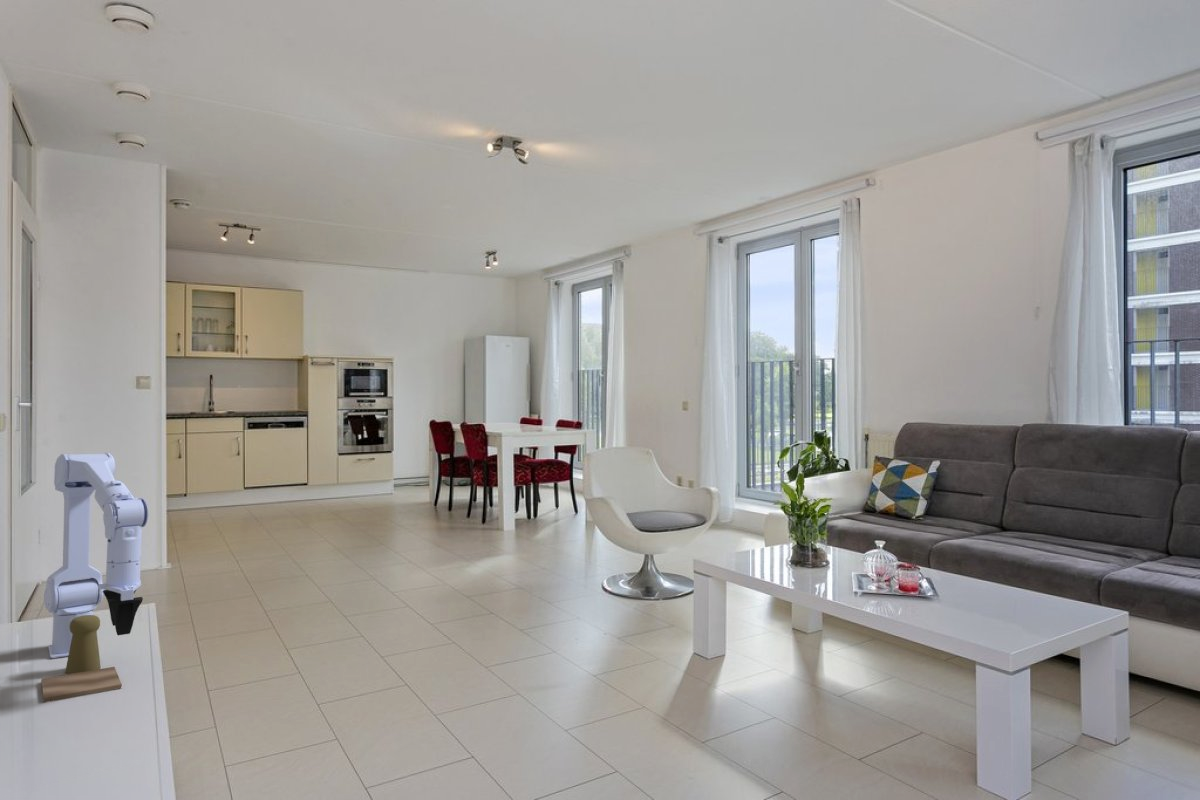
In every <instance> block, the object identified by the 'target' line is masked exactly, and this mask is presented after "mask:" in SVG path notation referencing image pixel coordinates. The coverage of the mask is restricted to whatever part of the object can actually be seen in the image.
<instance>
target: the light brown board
mask: <svg viewBox="0 0 1200 800" xmlns="http://www.w3.org/2000/svg"><path fill="white" fill-rule="evenodd" d="M41 684H42V685H41ZM40 685H41V692H42V701H43V700H44V701H43V703H46V702H45V701H50V702H53V700H54V702H55V701H59V700H60V699H61V700H65V699H70V698H76V697H81V696H89V695H93V694H99V693H104V692H109V690H110V691H114V690H113V689H116V690H118V689H117V688H121V687H122V681H121V678H120V676H119V674H118V672H117V670H116V667H115V666H111V667H105V668H104V667H103V668H100V669H97V670H91V671H85V672H79V673H73V674H62V675H61V674H60V675H57V676H55V675H54V676H50V677H45V678H44V677H43V678H41V680H40ZM122 688H123V687H122ZM122 688H121V689H122Z"/></svg>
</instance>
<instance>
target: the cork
mask: <svg viewBox="0 0 1200 800" xmlns="http://www.w3.org/2000/svg"><path fill="white" fill-rule="evenodd" d="M100 626H101V619H100V617H99V616H98V615H94V614H93V615H83V616H79V617H76V618H74V619H73V620H72V621H71V623H70V632H71V633H72V634H73V635H72V640H71V645H70V650H69V655H68V656H67V661H66V665H65V666H66V667H65V671H64V674H65V675H67V674H73V673H79V672H85V671H91V670H97V669H102V668H101V666H102V665H101V659H100V650H99V649H100V647H99V641H98V639H99V638H98V634H97V633H98V630H99V629H100Z"/></svg>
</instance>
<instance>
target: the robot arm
mask: <svg viewBox="0 0 1200 800" xmlns="http://www.w3.org/2000/svg"><path fill="white" fill-rule="evenodd" d="M115 469H116V461H115V457H114V456H113V455H112V454H111V453H109V452H105V453H86V454H85V453H81V454H80V453H79V454H77V453H75V454H73V453H72V454H69V453H68V454H66V453H61V454H60V455H59V456H58V457H57V458H56V460H55V463H54V476H53V477H54V480H53V481H54V482H53V483H54V490H55V491H57V492H61V493H63V502H64V503H63V506H64V507H63V535H62V536H63V539H62V540H63V541H62V545H63V547H62V566H61V567H60V568H58V569H57V570H56V571H54V572H53V573H51V574H50V575H49V576H48V577H47V579H46V585H45V586H46V587H45V589H44V594H43V597H44V599H43V602H44V608H45V610H47V611H48V612H49V613H50V614H51V613H52V614H53V616H52V617H53V618H52V639H51V642H52V643H51V644H50V645H48V646H47V647H48V652H49V658H50V659H56V658H65V657H68V655H69V650H70V645H71V640H72V635H73V634H72V633H71V632H70V623H71V621H72V620H73V619H74V618H76V617H79V616H83V615H94V610H96V609H97V606H99V605H100V604H101V602H103V599H104V596H105V599H106V601H107V605H108V609H109V614H110V616H109V617H110V620H111V625H112V626H115V632H116V635H117V636H123V635H125V636H126V635H130V634H131V632H132V628H133V625H134V623H135V622H134V620H135V616H136V614H137V612H138V609H139V608H140V605H141V604H142V602H143V600H144V598H143V596H138V597H137V596H136V597H134V596H135V593H136V591H137V589H139V587H141V586H142V581H141V568H142V567H141V564H142V544H143V543H142V542H143V541H142V539H143V528H144V527H145V526H146V525H147V523H148V520H149V507H148V504H147V501H146V500H145V498H144V497H135V496H134V495H133V494H132V493H131V491H130V490H129V488H128V487H127V486H126V484H125V483H123V482H122V481H121V480H116V479H115V477H114V475H115V471H116V470H115ZM93 492H94V499H95V501H96V503H97V504H98V506H99V507H100V509H101V511H102V512H103V514H102V518H103V519H102V520H103V524H104V536H105V538H106V539H107V544H106V545H107V548H106V569H105V583H103V574H102V572H101V571H100V570H98V569H97V568H95V567H93V566H92V565H90V537H91V536H90V533H91V532H90V530H91V528H90V527H91V496H92V494H93Z"/></svg>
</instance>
